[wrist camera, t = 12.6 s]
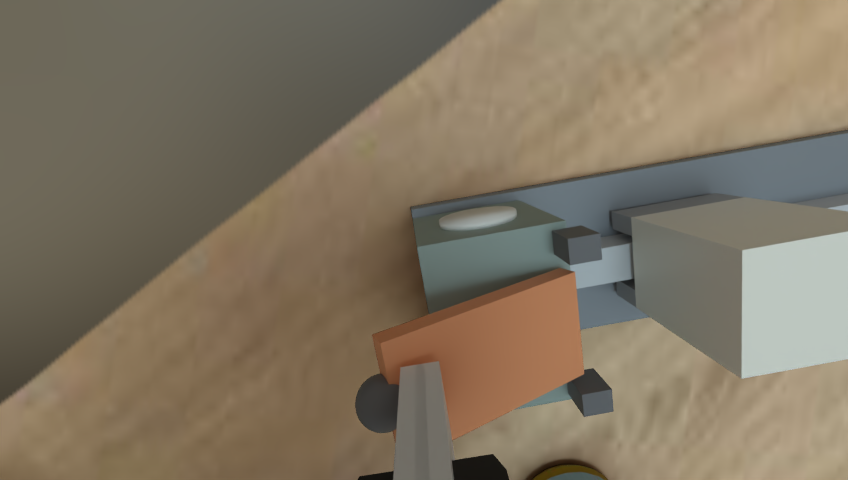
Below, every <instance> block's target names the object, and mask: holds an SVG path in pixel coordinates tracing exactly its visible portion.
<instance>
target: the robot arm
mask: <svg viewBox="0 0 848 480" xmlns="http://www.w3.org/2000/svg"><path fill="white" fill-rule="evenodd" d="M358 480H509V477H508V474H507V470H506V469H505V468H504V466H503V465H502V464H501V463H500V462H499V461H498V459H497V458H496V457H495V456H494V455H493V454H491V455H484V456H478V457H471V458H465V459H459V460H455V458H454V450H453V442H452V435H451V429H450V423H449V417H448V411H447V405H446V399H445V394H444V388H443V382H442V376H441V370H440V364H439V361H436V362H430V363H424V364H417V365H411V366H405V367H400V382H399V397H398V413H397V428H396V444H395V459H394V471H392V472H385V473H379V474H372V475H366V476H360V477H359V478H358Z"/></svg>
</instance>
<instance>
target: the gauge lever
mask: <svg viewBox="0 0 848 480" xmlns="http://www.w3.org/2000/svg"><path fill="white" fill-rule="evenodd" d="M372 336H373V341H374V346H375V350H376V355H377V360H378V364H379V369H380V374H377V375H374V376H372V377H370V378H368V379H367V380H366V381H365V382H364V383H363V384H362V385H361V387H360V389H359V390H358V393H357V396H356V402H355V408H356V413H357V416H358V418H359V420H360V421H361V423H362V424H363V425H364V426H365V427H366V428H368V429H369V430H371V431H374V432H377V433H387V432H391V431H393V434H394V439H395V444H396V428H397V413H398V397H399V382H400V367H405V366H411V365H417V364H424V363H430V362H436V361H439V364H440V370H441V376H442V382H443V388H444V394H445V399H446V405H447V411H448V417H449V423H450V429H451V435H452V441H453V440H454V439H456V438H458V437H460V436H462V435H464V434H466V433H468V432H470V431H472V430H474V429H476V428H478V427H480V426H482V425H484V424H486V423H488V422H490V421H492V420H494V419H496V418H498V417H500V416H502V415H504V414H506V413H508V412H510V411H512V410H514V409H516V408H518V407H520V406H522V405H524V404H526V403H528V402H530V401H532V400H534V399H536V398H538V397H540V396H542V395H544V394H546V393H548V392H550V391H552V390H554V389H556V388H558V387H560V386H562V385H564V384H566V383H568V382H570V381H572V380H574V379H575V378H577V377H579V376H581V375H583V374H584V366H583V355H582V344H581V333H580V321H579V310H578V299H577V288H576V277H575V272H574V271H570V270H566V269H562V268H558V269H555V270H552V271H550V272H547V273H544V274H541V275H538V276H536V277H533V278H530V279H527V280H524V281H521V282H519V283H516V284H513V285H510V286H507V287H505V288H502V289H499V290H496V291H493V292H491V293H488V294H485V295H482V296H479V297H476V298H474V299H471V300H468V301H465V302H462V303H460V304H457V305H454V306H451V307H448V308H446V309H443V310H440V311H437V312H434V313H432V314H429V315H426V316H423V317H420V318H417V319H415V320H412V321H409V322H406V323H403V324H401V325H398V326H395V327H392V328H389V329H387V330H384V331H381V332H378V333H375V334H372Z"/></svg>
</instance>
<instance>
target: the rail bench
mask: <svg viewBox="0 0 848 480" xmlns="http://www.w3.org/2000/svg"><path fill="white" fill-rule="evenodd" d="M714 193H719V194H726V195H733V196H740V197H747V198H755V199H762V200H769V201H776V202H784V203H791V204H798V205H805V206H812V207H820V208H827V209H834V210H841V211H848V130H845V131H840V132H834V133H828V134H822V135H817V136H811V137H805V138H800V139H794V140H788V141H783V142H777V143H771V144H766V145H760V146H754V147H748V148H743V149H737V150H731V151H726V152H720V153H714V154H709V155H703V156H697V157H692V158H686V159H680V160H675V161H669V162H663V163H657V164H652V165H646V166H640V167H635V168H629V169H623V170H618V171H612V172H606V173H601V174H595V175H589V176H583V177H578V178H572V179H566V180H561V181H555V182H549V183H544V184H538V185H532V186H527V187H521V188H515V189H510V190H504V191H498V192H492V193H487V194H481V195H475V196H470V197H464V198H458V199H453V200H447V201H441V202H436V203H430V204H424V205H418V206H413V207H411V213H412V218H413V225H414V231H415V237H416V244H417V250H418V255H419V261H420V267H421V272H422V278H423V283H424V289H425V295H426V300H427V306H428V312H429V314H432V313H434V312H437V311H440V310H443V309H446V308H448V307H451V306H454V305H457V304H460V303H462V302H465V301H468V300H471V299H474V298H476V297H479V296H482V295H485V294H488V293H491V292H493V291H496V290H499V289H502V288H505V287H507V286H510V285H513V284H516V283H519V282H521V281H524V280H527V279H530V278H533V277H536V276H538V275H541V274H544V273H547V272H550V271H552V270H555V269H558V268H562V269H566V270H570V271H574V272H575V277H576V288H577V299H578V310H579V321H580V330H581V329H586V328H592V327H597V326H603V325H608V324H614V323H619V322H625V321H630V320H636V319H641V318H647V317H649V316H648V315H646V314H645V313H643V312H642V311H640V310H639V309H637V308H636V307H634V306H633V305H631V304H630V303H628V302H627V301H626V300H624V299H623V298H621V297H620V296H618V295H617V286H616V282H618V281H623V280H629V279H635V278H634V260H633V242H632V236H630V235H628V234H625V233H622V232H620V231H617V230H614V229H613V226H612V211H618V210H624V209H629V208H635V207H641V206H646V205H652V204H657V203H663V202H669V201H674V200H680V199H686V198H691V197H697V196H703V195H708V194H714ZM569 399H572V400H573V401H574V403H575V404H576V406H577V407H578V409H579V410H580V412H581V413H582V414H583V416H584V417H586V416H591V415H597V414H602V413H607V412H613V399H612V389H611V388H610V387H609V386H608V385H607V383H606V382H605V381H604V380H603V379H602V378H601V377H600V375H599V374H598V373H597V372H596V371H595V370H594V369H593V368H592V369H587V370H584V374H583V375H581V376H579V377H577V378H575V379H574V380H572V381H570V382H568V383H566V384H564V385H562V386H560V387H558V388H556V389H554V390H552V391H550V392H548V393H546V394H544V395H542V396H540V397H538V398H536V399H534V400H532V401H530V402H528V403H526V404H524V405H522V406H520V407H518V408H516V409H520V408H525V407H531V406H536V405H542V404H547V403H553V402H558V401H563V400H569ZM514 410H515V409H514Z"/></svg>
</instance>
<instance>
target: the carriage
mask: <svg viewBox="0 0 848 480" xmlns="http://www.w3.org/2000/svg"><path fill="white" fill-rule="evenodd" d="M612 226H613V229H614V230H617V231H620V232H622V233H625V234H628V235H630V236H632V242H633V260H634V278H635V279H629V280H623V281H618V282H616V286H617V295H618V296H620V297H621V298H623V299H624V300H626V301H627V302H628V303H630V304H631V305H633V306H634V307H636V308H637V309H639V310H640V311H642V312H643V313H645V314H646V315H648V316H649V317H651V318H652V319H654V320H655V321H657V322H658V323H660V324H661V325H663V326H664V327H666V328H667V329H669V330H670V331H672V332H673V333H674V334H676V335H677V336H679V337H680V338H682V339H683V340H685V341H686V342H688V343H689V344H691V345H692V346H694V347H695V348H697V349H698V350H700V351H701V352H703V353H704V354H706V355H707V356H709V357H710V358H712V359H713V360H715V361H716V362H718V363H719V364H720V365H722V366H723V367H725V368H726V369H728V370H729V371H731V372H732V373H734V374H735V375H737V376H738V377H740V378H741V379H742V378H748V377H753V376H759V375H764V374H770V373H775V372H780V371H786V370H791V369H797V368H802V367H807V366H813V365H818V364H824V363H829V362H835V361H840V360H845V359H848V211H841V210H834V209H827V208H820V207H812V206H805V205H798V204H791V203H784V202H776V201H769V200H762V199H755V198H747V197H740V196H733V195H726V194H719V193H714V194H708V195H703V196H697V197H691V198H686V199H680V200H674V201H669V202H663V203H657V204H652V205H646V206H641V207H635V208H629V209H624V210H618V211H612Z"/></svg>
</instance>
